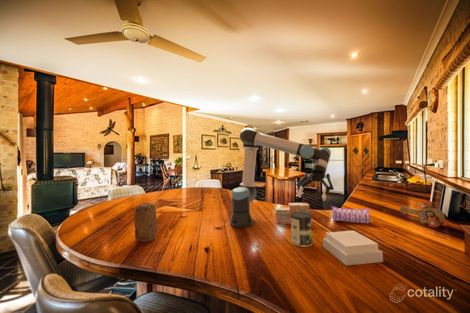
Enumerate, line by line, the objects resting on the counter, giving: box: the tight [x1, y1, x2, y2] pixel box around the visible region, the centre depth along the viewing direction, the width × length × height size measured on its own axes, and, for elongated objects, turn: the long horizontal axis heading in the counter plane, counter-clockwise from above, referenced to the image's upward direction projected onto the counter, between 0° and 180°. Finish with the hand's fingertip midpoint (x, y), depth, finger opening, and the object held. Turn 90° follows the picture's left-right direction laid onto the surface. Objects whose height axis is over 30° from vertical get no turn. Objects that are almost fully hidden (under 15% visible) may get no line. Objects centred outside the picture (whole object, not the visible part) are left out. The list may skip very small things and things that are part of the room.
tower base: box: [322, 230, 384, 266], centre depth 83 cm, size 16×16×7 cm
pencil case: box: [330, 205, 371, 225], centre depth 122 cm, size 22×9×10 cm, turn 72°
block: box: [133, 202, 158, 243], centre depth 105 cm, size 11×8×20 cm
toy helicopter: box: [399, 201, 446, 228], centre depth 116 cm, size 8×21×14 cm, turn 23°
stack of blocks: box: [274, 202, 311, 225], centre depth 124 cm, size 21×6×12 cm, turn 85°
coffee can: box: [290, 212, 313, 248], centre depth 96 cm, size 10×10×14 cm
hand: (310, 197), depth 103 cm, fingers open, 13 cm apart
